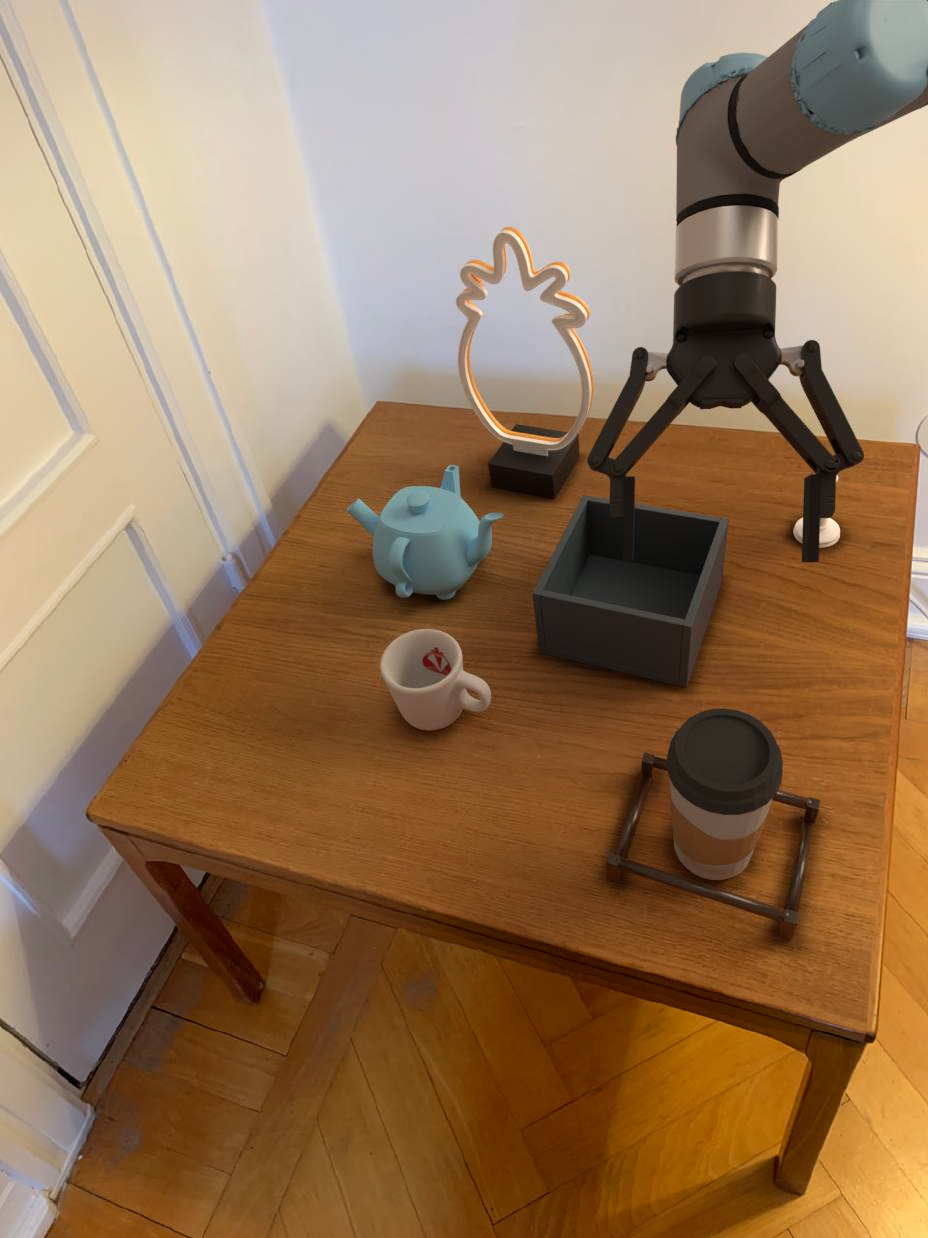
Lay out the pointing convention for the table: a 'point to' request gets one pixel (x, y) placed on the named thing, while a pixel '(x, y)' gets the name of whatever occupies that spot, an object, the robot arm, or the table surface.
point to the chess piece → (821, 531)
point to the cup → (430, 679)
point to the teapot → (427, 538)
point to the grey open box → (631, 590)
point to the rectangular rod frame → (784, 916)
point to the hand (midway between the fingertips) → (717, 562)
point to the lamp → (546, 454)
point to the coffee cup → (721, 789)
